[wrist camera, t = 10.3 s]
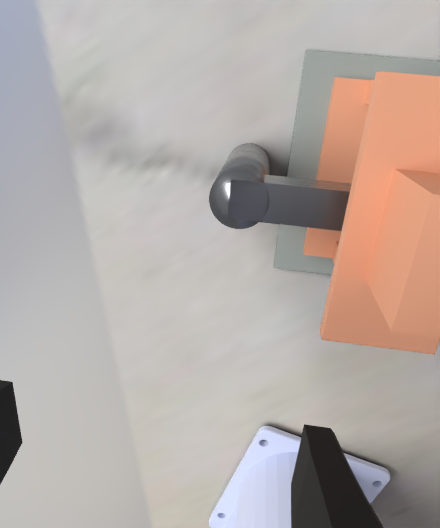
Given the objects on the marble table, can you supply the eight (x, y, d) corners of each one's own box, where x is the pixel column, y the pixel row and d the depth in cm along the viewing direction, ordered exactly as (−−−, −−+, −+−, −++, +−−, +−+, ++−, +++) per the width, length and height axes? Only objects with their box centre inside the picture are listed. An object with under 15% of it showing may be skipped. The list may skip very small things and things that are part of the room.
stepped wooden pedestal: (420, 84, 15) (627, 84, 6) (375, 258, 18) (475, 420, 9) (334, 77, 15) (420, 65, 7) (303, 249, 18) (334, 400, 10)
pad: (457, 63, 15) (460, 62, 15) (394, 279, 19) (396, 282, 18) (305, 50, 15) (306, 50, 15) (273, 265, 19) (273, 267, 19)
